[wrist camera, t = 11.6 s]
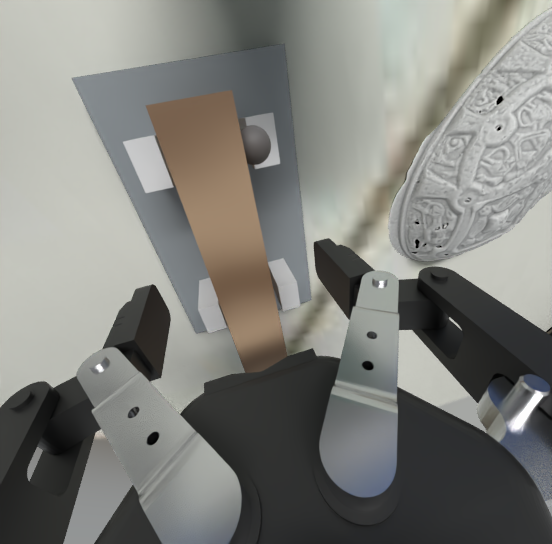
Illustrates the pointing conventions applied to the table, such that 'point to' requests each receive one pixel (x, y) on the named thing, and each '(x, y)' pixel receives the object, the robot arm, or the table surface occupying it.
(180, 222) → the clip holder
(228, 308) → the cabinet door
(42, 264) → the table surface
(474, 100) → the oval brooch
